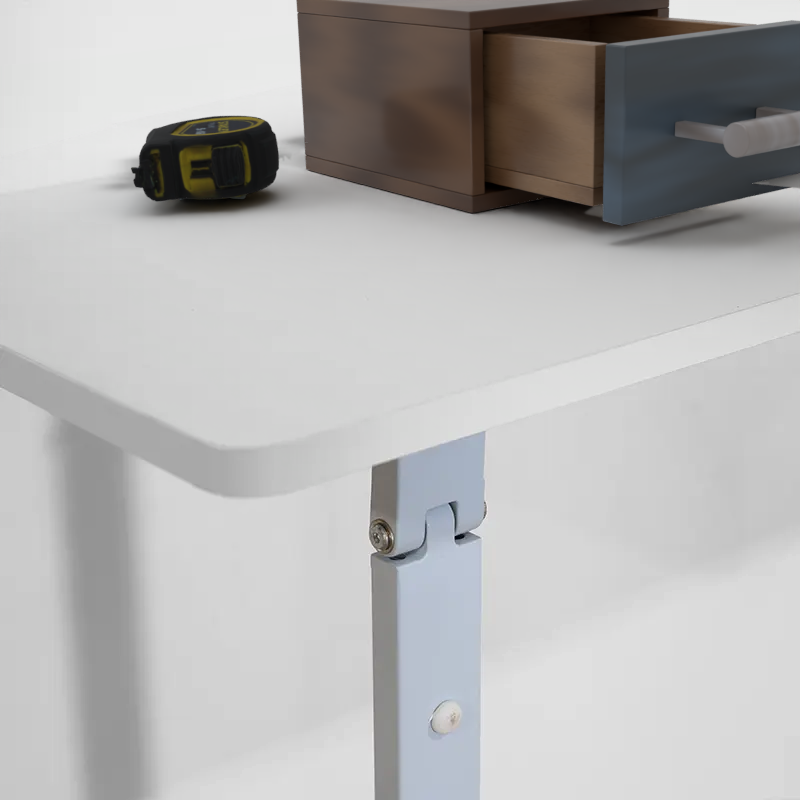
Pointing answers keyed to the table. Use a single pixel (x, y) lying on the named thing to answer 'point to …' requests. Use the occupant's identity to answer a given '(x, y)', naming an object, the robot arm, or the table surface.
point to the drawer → (641, 111)
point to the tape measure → (208, 159)
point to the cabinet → (414, 90)
